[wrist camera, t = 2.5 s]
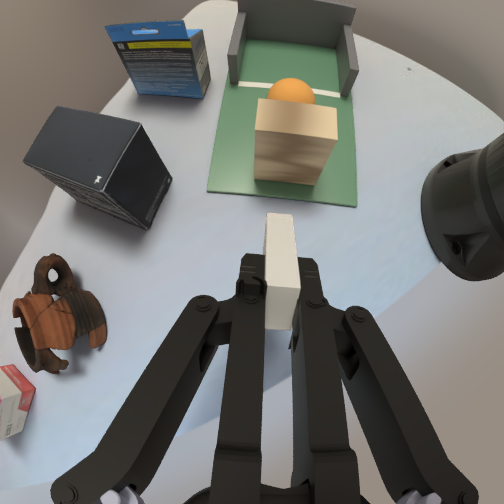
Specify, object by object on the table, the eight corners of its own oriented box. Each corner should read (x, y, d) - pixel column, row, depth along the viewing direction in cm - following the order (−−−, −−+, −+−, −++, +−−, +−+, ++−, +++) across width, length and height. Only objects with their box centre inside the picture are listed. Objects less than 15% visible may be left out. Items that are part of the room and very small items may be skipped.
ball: (311, 100, 31) (318, 72, 26) (310, 135, 30) (319, 108, 25) (267, 95, 31) (269, 66, 26) (264, 129, 30) (265, 101, 26)
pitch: (344, 48, 33) (359, 5, 25) (355, 207, 29) (388, 174, 21) (236, 36, 34) (234, -10, 25) (207, 191, 30) (191, 151, 21)
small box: (176, 174, 30) (145, 119, 20) (149, 232, 29) (102, 196, 19) (100, 150, 31) (56, 101, 20) (74, 200, 30) (19, 163, 19)
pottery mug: (117, 369, 27) (51, 396, 20) (73, 345, 31) (17, 361, 24) (105, 252, 26) (27, 260, 19) (62, 248, 30) (1, 253, 23)
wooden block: (315, 159, 30) (336, 108, 21) (314, 185, 29) (337, 139, 20) (256, 152, 30) (258, 98, 21) (253, 179, 29) (254, 129, 20)
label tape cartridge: (212, 77, 32) (200, -1, 20) (203, 100, 32) (185, 20, 20) (148, 73, 33) (120, 4, 21) (136, 95, 32) (101, 26, 20)
